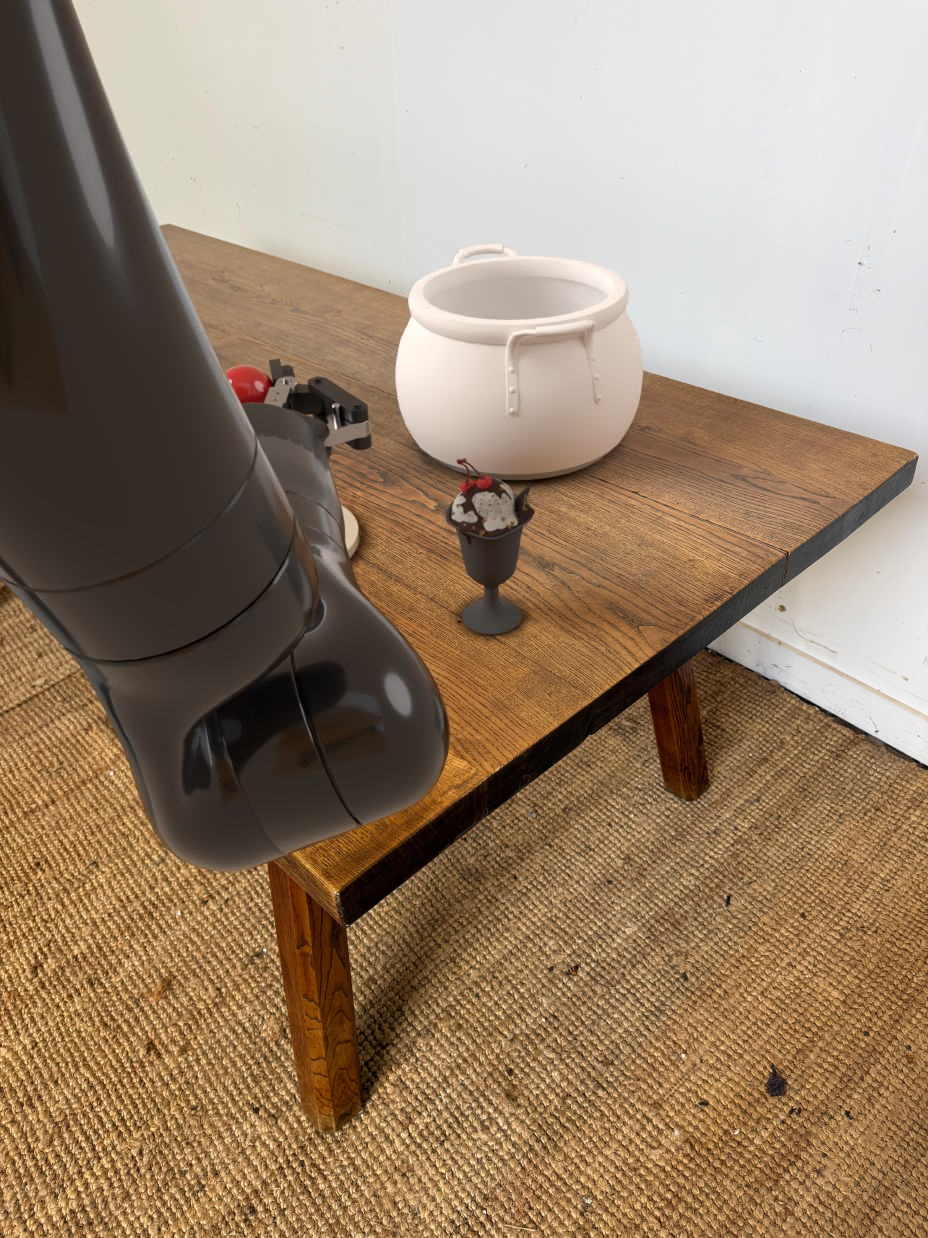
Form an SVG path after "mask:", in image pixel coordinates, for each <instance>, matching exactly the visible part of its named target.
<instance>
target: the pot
mask: <svg viewBox="0 0 928 1238" xmlns="http://www.w3.org/2000/svg"><path fill="white" fill-rule="evenodd" d="M487 254H489V255H490V254H496V255H502V254H505V255H507V256H499V257H490V258H482V259H476V260H475V259H474V260H470V261H465V262H463V261H464V260H465V259H468V258H471V257H474V256H479V255H487ZM629 296H630V292H629V289H628V286H627V284H626V281H625V280H624V278H622V276H621V275H619V273H616V272H615V271H613V270H611V269H609V268H608V267H604V266H601V265H599V264H597V263H592V262H588V261H585V260H578V259H573V258H566V257H557V256H556V257H555V256H543V255H542V256H540V255H539V256H536V255H521V254H520V253H518V252H517V251H516V250H515V249H514V248H511V247H507V246H505V244H503V243H487V244H478V245H470V246H468V247H464V248H461V249H459V250H458V253H457V254H455V256H454V259H453V262H452V264H451V265H449V266H446V267H443V268H440V269H436V270H435V271H432V272H430V273H427V274H426V275H425V276H423V277H421V278H420V279H419V280H417V281H416V282H415V284H413V286H412V287H411V289H410V292H409V295H408V299H407V302H408V303H407V304H408V309H409V313H410V315H411V316H410V318H409V320H408V323H407V325H406V327H405V329H404V331H403V332H402V335H401V337H400V340H399V345H398V349H397V354H396V355H397V356H396V361H395V374H394V375H395V378H394V380H395V381H394V382H395V389H396V397H397V402H398V408H399V411H400V414H401V416H402V419H403V421H404V424H405V427H406V429H407V430H408V432H409V434H410V435H411V436H412V439H413V440H414V442H416V444H417V445H418V447H419V448H420V449H421V450H422V451H424V452H425V453H426V454H427V455H429V456H430V457H431V458H432V459H433V460H435V461H436V462H437V463H438V464H440V465H442V466H445V467H446V468H449V469H451V470H452V471H455V472H458V473H462V474H466V475H467V469H466V467H464V466H463V465H461V464H458V463H457V459H464V458H466V462H468V463H470V464H471V465H472V466H473V467H474V468H475V469H476V470H477V471H478V472H479V473H480V474H481V476H488V477H490V478H494V479H498V480H500V481H502V480H504V481H531V480H539V479H548V478H554V477H559V476H563V475H568V474H571V473H574V472H577V471H579V470H582V469H585V468H586V467H589V466H591V465H593V464H595V463H596V462H599V461H600V460H601V459H602V458H603V457H605V456H606V455H607V454H608V453H610V452H611V451H612V450H613V449H614V448H615V447H617V446H618V445H619V444H620V442H621V441H622V439H623V438H624V436H625V435H626V433H627V432H628V430H629V428H630V427H631V425H632V423H633V421H634V418H635V416H636V414H637V410H638V408H639V404H640V400H641V396H642V395H641V394H642V388H643V379H644V363H643V362H644V361H643V359H644V358H643V353H642V348H641V343H640V338H639V335H638V332H637V329H636V328H635V325H634V324H633V322H632V320H631V318H630V316H629V314H628V312H627V310H626V309H627V307H628V303H629ZM463 464H464V465H466V466H467V467H468V469H469V473H470V475H469V476H473V477H478V478H480V477H479V475H478V474H477V473H476V472H475V471H474V470H473V469H472V467H471V466H469V465H468V464H466V463H463Z"/></svg>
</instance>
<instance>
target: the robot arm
mask: <svg viewBox="0 0 928 1238" xmlns="http://www.w3.org/2000/svg"><path fill="white" fill-rule="evenodd" d="M132 158H133V157H131V154H130V151H129V148H128V146H127V144H126V140H125V138H124V136H123V133H122V131H121V128H120V125H119V123H118V119H117V117H116V115H115V112H114V110H113V106H112V104H111V102H110V99H109V96H108V93H107V91H106V88H105V86H104V83H103V81H102V77H101V75H100V73H99V70H98V68H97V64H96V62H95V59H94V56H93V54H92V51H91V48H90V46H89V42H88V39H87V38H86V35H85V32H84V30H83V26H82V24H81V22H80V19H79V16H78V13H77V11H76V8H75V5H74V2H73V0H0V579H1V580H2V581H3V582H4V583H5V585H7V587H8V588H9V589H10V590H11V591H12V592H13V593H14V594H15V596H16V597H17V598H18V599H19V600H20V601H21V602H22V603H23V604H24V606H25V607H26V608H27V609H28V610H29V611H30V612H31V613H32V614H33V616H34V617H35V618H36V619H37V620H38V621H39V622H40V624H41V625H42V626H43V627H44V628H45V629H46V630H47V631H48V632H49V633H50V635H52V637H53V638H54V639H55V640H56V641H57V642H58V644H60V645H61V646H62V647H63V649H64V650H65V651H66V652H67V653H68V654H69V655H70V657H72V659H74V660H75V662H76V663H77V664H78V666H79V667H80V669H81V671H82V672H83V674H84V675H85V677H86V679H87V681H88V682H89V683H90V685H91V687H92V689H93V691H94V693H95V695H96V697H97V699H98V700H99V702H100V704H101V707H102V708H103V710H104V712H105V714H106V716H107V718H108V720H109V723H110V724H111V726H112V728H113V730H114V733H115V735H116V737H117V739H118V741H119V743H120V745H121V748H122V750H123V752H124V755H125V757H126V760H127V763H128V766H129V769H130V772H131V776H132V779H133V782H134V784H135V788H136V792H137V794H138V797H139V800H140V803H141V805H142V809H143V811H144V814H145V817H146V818H147V821H148V822H149V825H150V827H151V829H152V831H153V833H154V834H155V836H156V838H157V839H158V841H159V842H160V844H161V845H162V846H163V847H164V848H165V849H166V850H167V851H168V852H169V853H170V854H172V855H173V856H174V857H175V858H177V859H178V860H180V861H182V862H184V863H186V864H189V865H190V866H193V867H195V868H199V869H201V870H206V871H211V872H217V873H218V872H219V873H235V872H242V871H246V870H251V869H254V868H258V867H260V866H264V865H266V864H269V863H271V862H273V861H276V860H279V859H281V858H285V857H287V856H289V855H291V854H294V853H297V852H299V851H303V850H304V849H307V848H310V847H312V846H315V845H318V844H320V843H323V842H325V841H328V840H331V839H334V838H336V837H339V836H341V835H344V834H346V833H349V832H351V831H354V830H357V829H360V828H362V826H363V825H364V826H367V825H371V824H373V823H376V822H378V821H381V820H384V819H386V818H387V819H388V818H390V817H391V816H394V815H397V814H399V813H401V812H404V811H406V810H409V809H410V808H412V807H413V806H415V805H416V804H418V803H420V802H421V801H422V800H423V799H425V798H426V797H427V796H428V795H429V794H430V793H431V792H432V791H433V789H434V788H435V787H436V785H437V784H438V782H439V780H440V778H441V775H442V774H443V771H444V769H445V767H446V763H447V761H448V760H447V759H448V757H449V753H450V741H451V740H450V739H451V728H450V719H449V715H448V711H447V706H446V703H445V700H444V698H443V695H442V693H441V690H440V688H439V686H438V683H437V682H436V680H435V678H434V676H433V674H432V672H431V670H430V669H429V667H428V665H427V664H426V662H425V661H424V660H423V658H422V656H421V655H420V653H418V651H417V650H416V649H415V648H414V646H413V645H412V644H411V643H410V641H409V640H408V638H407V637H405V635H404V634H403V633H402V631H401V630H400V629H399V628H398V627H397V626H396V625H395V624H394V623H393V622H392V621H391V620H390V619H389V618H388V616H386V615H385V613H384V612H382V611H381V609H379V607H378V606H376V605H375V603H374V602H372V601H371V600H370V598H368V596H366V594H365V592H364V591H363V590H362V589H361V587H360V585H359V583H358V581H357V578H356V575H355V572H354V569H353V565H352V561H351V558H349V554H348V550H347V547H346V542H345V522H344V516H343V511H342V507H341V505H342V504H341V501H340V497H339V493H338V491H337V486H336V482H335V479H334V475H333V471H332V469H331V466H330V461H329V459H330V458H331V456H332V453H333V447H336V446H342V445H344V444H346V445H347V446H348V447H350V448H351V449H353V450H356V451H365V450H369V449H370V448H371V447H372V446H373V440H372V432H371V431H372V430H371V423H370V412H369V405H368V403H366V402H365V401H363V400H362V399H360V398H358V397H357V396H356V395H354V394H352V393H351V392H349V391H347V390H346V389H344V388H343V387H341V386H340V385H338V384H336V383H335V382H333V381H332V380H330V379H329V378H327V377H325V376H313V377H310V378H308V380H307V384H305V383H299V382H298V379H297V378H296V375H295V371H294V367H293V366H292V365H290V364H284V365H282V364H281V359H280V358H274V359H268V364H269V368H270V369H269V370H270V374H271V375H270V377H271V380H272V382H273V384H274V387H270V388H269V391H268V393H267V396H266V399H265V402H264V403H242V404H241V402H240V400H239V398H238V396H237V394H236V393H235V391H234V389H233V387H232V385H231V383H230V381H229V379H228V377H227V375H226V373H225V372H226V371H225V369H224V367H223V365H222V363H221V361H220V359H219V357H218V355H217V353H216V350H215V349H214V346H213V344H212V342H211V340H210V337H209V336H208V333H207V331H206V330H205V327H204V324H203V323H202V320H201V318H200V316H199V314H198V312H197V309H196V307H195V305H194V303H193V301H192V299H191V296H190V294H189V291H188V289H187V287H186V285H185V283H184V280H183V278H182V276H181V273H180V271H179V269H178V266H177V264H176V262H175V259H174V257H173V254H172V252H171V250H170V248H169V245H168V243H167V241H166V238H165V236H164V234H163V232H162V231H163V230H162V229H161V227H160V224H159V222H158V220H157V217H156V215H155V213H154V212H155V211H154V209H153V208H152V204H151V202H150V200H149V197H148V195H147V192H146V191H145V188H144V185H143V183H142V181H141V178H140V175H139V173H138V171H137V169H136V165H135V163H134V161H133V159H132ZM310 415H311V416H310Z"/></svg>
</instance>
